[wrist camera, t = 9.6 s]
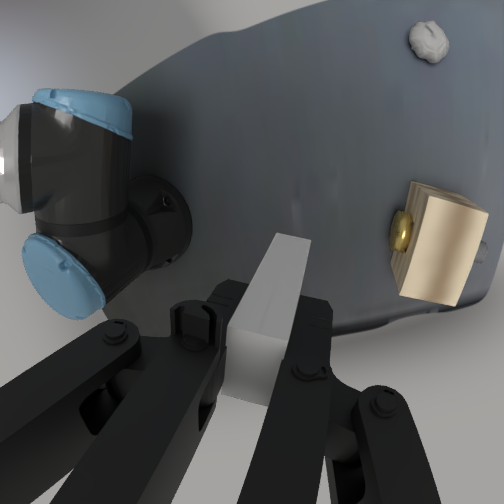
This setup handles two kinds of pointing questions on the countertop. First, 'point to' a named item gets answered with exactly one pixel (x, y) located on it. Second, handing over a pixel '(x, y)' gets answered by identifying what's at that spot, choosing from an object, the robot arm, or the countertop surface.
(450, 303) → the bore block
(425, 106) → the countertop surface
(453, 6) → the countertop surface
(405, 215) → the pin
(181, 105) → the countertop surface
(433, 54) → the garlic
